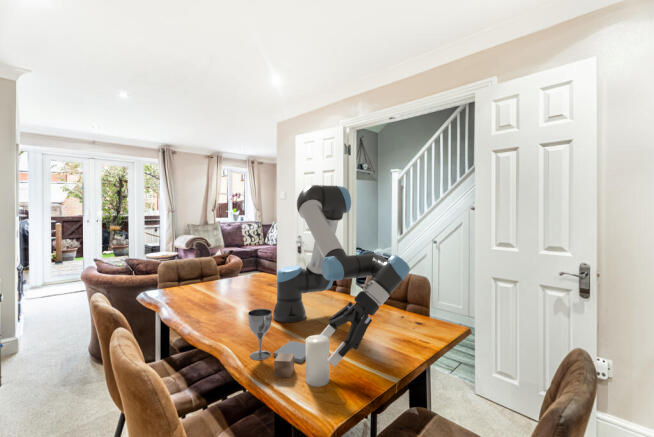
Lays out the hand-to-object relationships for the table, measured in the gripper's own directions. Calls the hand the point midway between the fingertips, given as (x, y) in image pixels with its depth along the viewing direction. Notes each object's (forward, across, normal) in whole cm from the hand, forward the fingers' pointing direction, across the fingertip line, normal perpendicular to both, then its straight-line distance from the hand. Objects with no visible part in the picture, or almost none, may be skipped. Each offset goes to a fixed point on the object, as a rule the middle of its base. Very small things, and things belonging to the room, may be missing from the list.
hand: (324, 352), depth 91 cm
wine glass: (+18, -21, -6) cm, 28 cm away
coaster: (+9, -19, +2) cm, 21 cm away
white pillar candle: (+7, 0, +4) cm, 8 cm away
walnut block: (+13, -7, -2) cm, 15 cm away
